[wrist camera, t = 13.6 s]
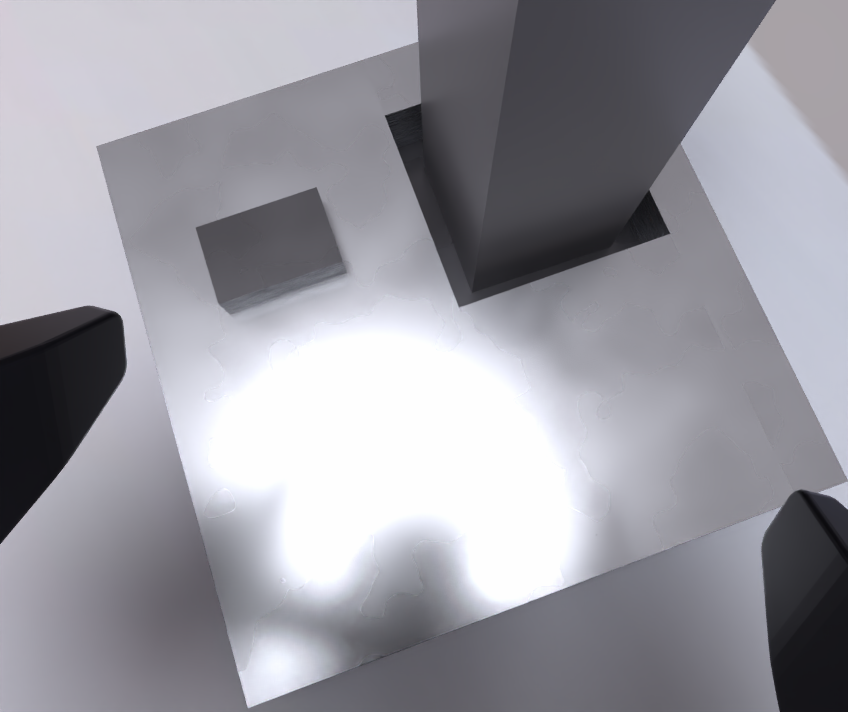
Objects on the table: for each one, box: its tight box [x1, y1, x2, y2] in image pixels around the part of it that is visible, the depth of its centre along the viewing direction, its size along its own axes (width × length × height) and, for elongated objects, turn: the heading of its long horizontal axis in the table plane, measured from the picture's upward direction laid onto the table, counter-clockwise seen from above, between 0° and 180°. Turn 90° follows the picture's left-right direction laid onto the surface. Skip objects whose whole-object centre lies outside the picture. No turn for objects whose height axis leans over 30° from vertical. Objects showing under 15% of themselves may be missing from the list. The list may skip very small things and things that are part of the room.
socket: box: [97, 42, 848, 708], centre depth 16 cm, size 14×14×3 cm
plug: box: [417, 0, 776, 293], centre depth 11 cm, size 4×4×14 cm
